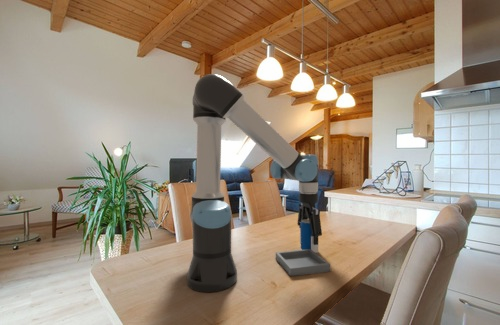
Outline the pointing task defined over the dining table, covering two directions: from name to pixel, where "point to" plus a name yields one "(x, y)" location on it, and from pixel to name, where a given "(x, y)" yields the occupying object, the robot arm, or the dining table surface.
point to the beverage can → (305, 234)
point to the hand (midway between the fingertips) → (308, 247)
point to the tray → (302, 262)
